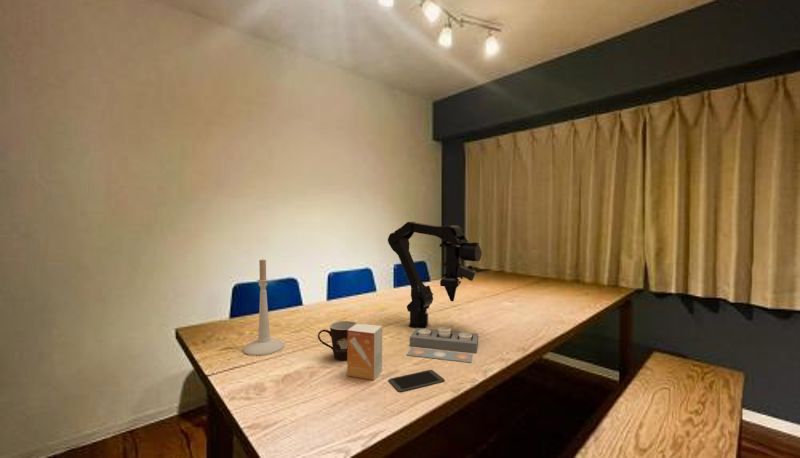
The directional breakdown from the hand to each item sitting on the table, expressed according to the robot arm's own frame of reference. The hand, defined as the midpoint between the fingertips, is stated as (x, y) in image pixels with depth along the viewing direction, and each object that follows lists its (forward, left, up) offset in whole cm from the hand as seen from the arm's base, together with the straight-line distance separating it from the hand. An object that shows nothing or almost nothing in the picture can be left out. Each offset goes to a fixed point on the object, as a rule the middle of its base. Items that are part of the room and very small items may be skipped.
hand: (452, 301), depth 130 cm
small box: (-19, -40, -12) cm, 46 cm away
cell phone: (-4, -40, -13) cm, 42 cm away
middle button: (-1, -12, -10) cm, 16 cm away
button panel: (-1, -12, -12) cm, 17 cm away
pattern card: (-1, -22, -12) cm, 25 cm away
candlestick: (-58, -32, -12) cm, 67 cm away
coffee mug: (-31, -31, -12) cm, 45 cm away
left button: (-8, -12, -11) cm, 18 cm away
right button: (+6, -12, -11) cm, 18 cm away
